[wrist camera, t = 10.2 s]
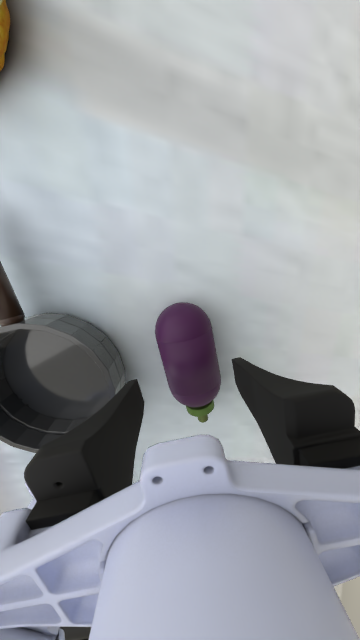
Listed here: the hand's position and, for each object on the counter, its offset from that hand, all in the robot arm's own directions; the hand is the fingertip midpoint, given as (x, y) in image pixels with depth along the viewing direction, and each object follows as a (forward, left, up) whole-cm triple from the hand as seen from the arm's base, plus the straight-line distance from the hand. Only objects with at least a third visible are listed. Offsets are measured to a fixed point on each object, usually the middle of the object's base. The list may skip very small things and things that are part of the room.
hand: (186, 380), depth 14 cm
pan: (0, +13, -6) cm, 14 cm away
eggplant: (-1, 0, -6) cm, 6 cm away
